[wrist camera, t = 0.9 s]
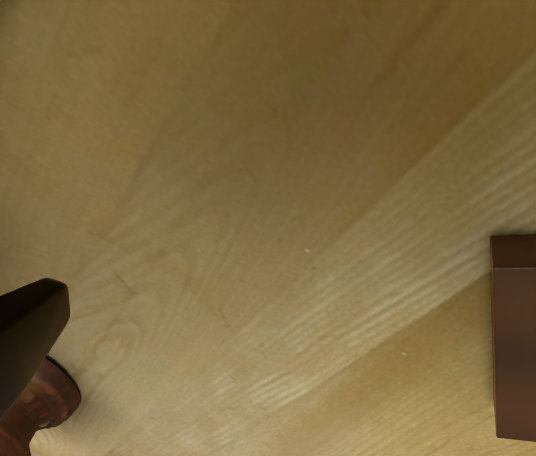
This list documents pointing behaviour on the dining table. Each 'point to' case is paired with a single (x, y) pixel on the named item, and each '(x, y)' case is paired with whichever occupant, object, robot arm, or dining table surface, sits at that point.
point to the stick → (514, 335)
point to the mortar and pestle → (37, 409)
